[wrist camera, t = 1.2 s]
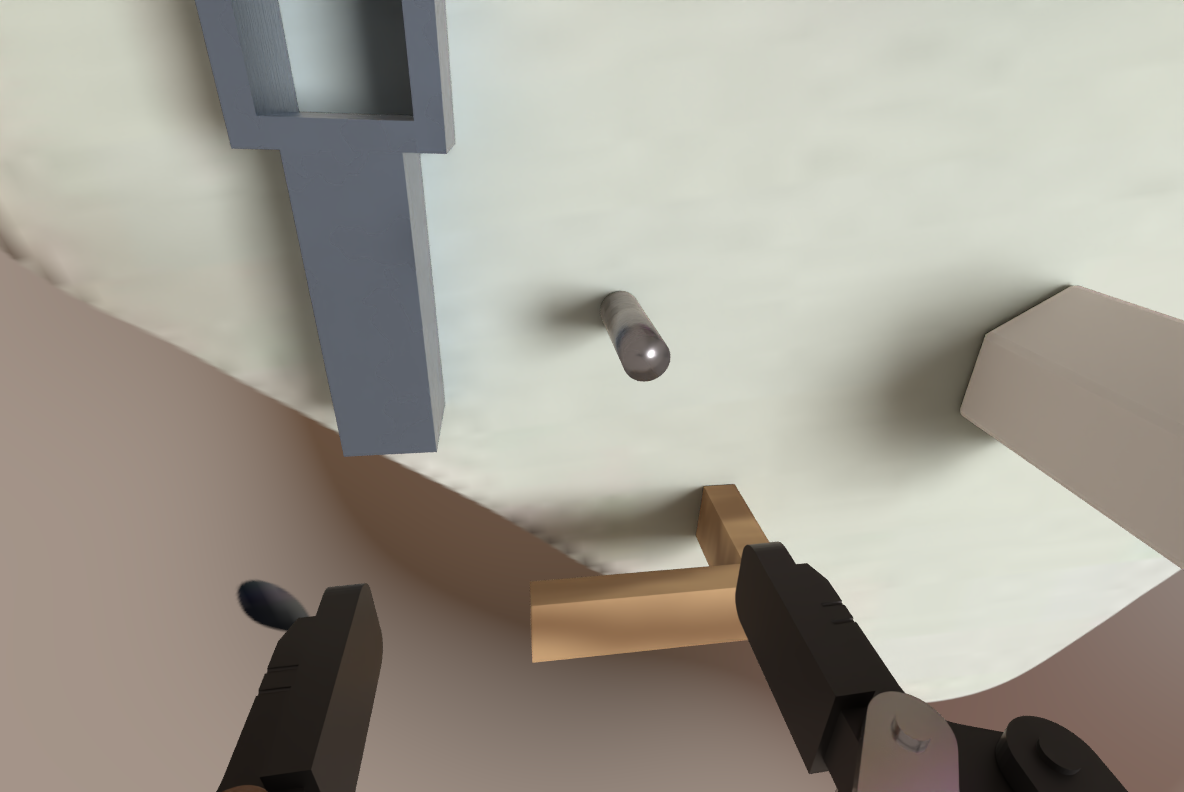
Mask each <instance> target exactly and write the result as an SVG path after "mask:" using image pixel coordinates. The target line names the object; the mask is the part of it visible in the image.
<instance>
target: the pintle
mask: <svg viewBox="0 0 1184 792" xmlns="http://www.w3.org/2000/svg"><path fill="white" fill-rule="evenodd" d="M600 316H601V319H602V321H603V323H604V325H605V328H606V330H607V332H608V334H609V337H610V339H611V341H612V343H613V345H614V348H615V350H616V352H617V354H618V356H619V359H620V361H621V363H622V365H623V367H624V370H625V372H626V373H627V374H628V375H629V376H630V377H631V378H633V379H635V380H637V381H651V380H654V379H656V378H658V377H659V376H661V375H662V374H663V373H664V372H665V371H666V369H667V368H668V365H669V363H670V351H669V348H668V347H667V345H666V344H665V342H664V341H663V339H662V338H661V336H660V334H659V333H658V331H657V330H656V328H655V327H654V325H653V324H652V322H651V321H650V319H649V318H648V316H647V315H646V313H645V312H644V310H643V309H642V307H641V306H640V304H639V303H638V301H637V300H636V298H635V297H634V296H633V295H632V294H630V293H628V292H625V291H617V292H613V293H611V294H609V295H608V296H607V297H606V298H605V299H604V300H603V302H602V304H601V307H600Z"/></svg>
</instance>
